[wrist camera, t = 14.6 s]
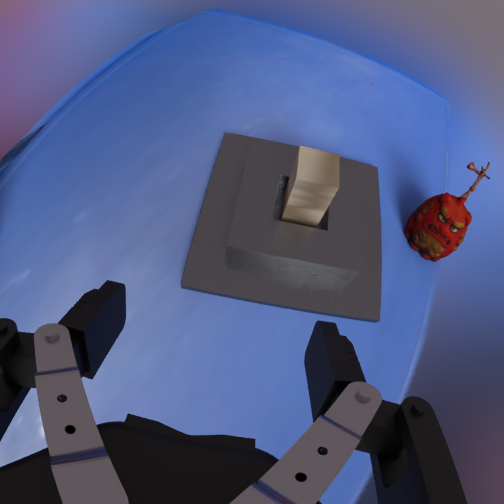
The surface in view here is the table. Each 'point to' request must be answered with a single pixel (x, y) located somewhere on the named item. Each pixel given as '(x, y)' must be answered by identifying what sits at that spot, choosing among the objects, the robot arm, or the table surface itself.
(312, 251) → the socket plate
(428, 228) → the red clay folk toy
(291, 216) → the maple block
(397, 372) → the table surface
